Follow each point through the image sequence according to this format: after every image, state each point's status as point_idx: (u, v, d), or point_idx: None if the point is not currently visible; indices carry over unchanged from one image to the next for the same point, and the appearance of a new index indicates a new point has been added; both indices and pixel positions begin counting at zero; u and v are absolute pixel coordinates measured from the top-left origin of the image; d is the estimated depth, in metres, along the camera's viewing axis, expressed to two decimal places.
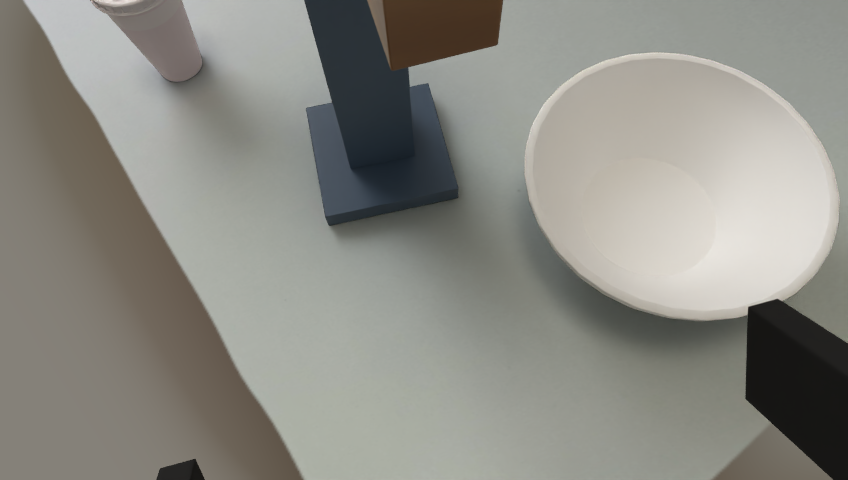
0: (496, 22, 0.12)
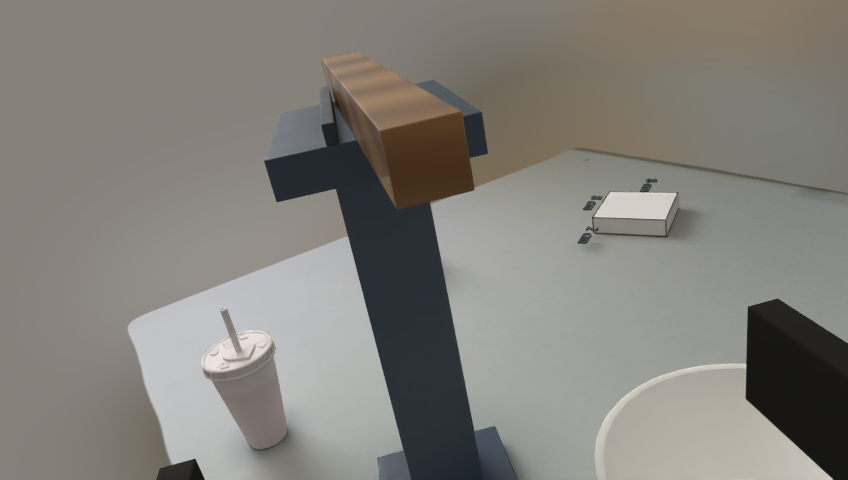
0: (468, 168, 0.17)
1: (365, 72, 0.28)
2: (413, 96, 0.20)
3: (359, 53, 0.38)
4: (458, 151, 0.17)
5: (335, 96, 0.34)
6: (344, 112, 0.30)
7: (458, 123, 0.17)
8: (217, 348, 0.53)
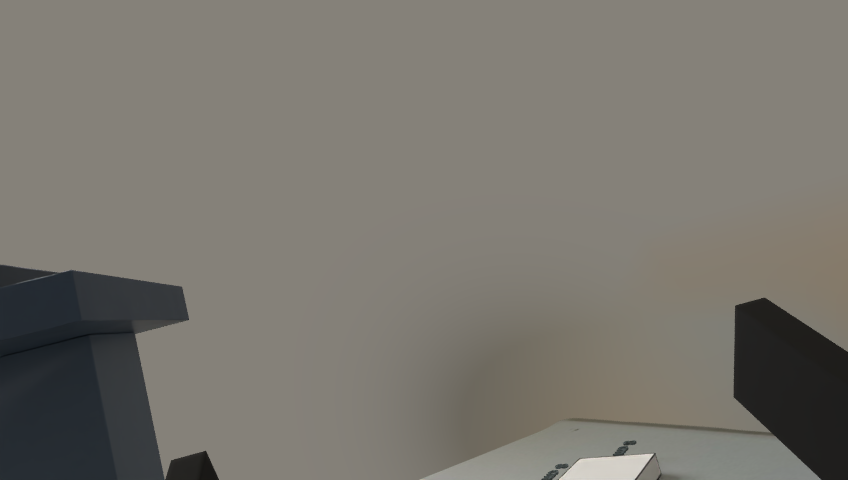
0: None
1: None
2: None
3: None
4: None
5: None
6: None
7: None
8: None
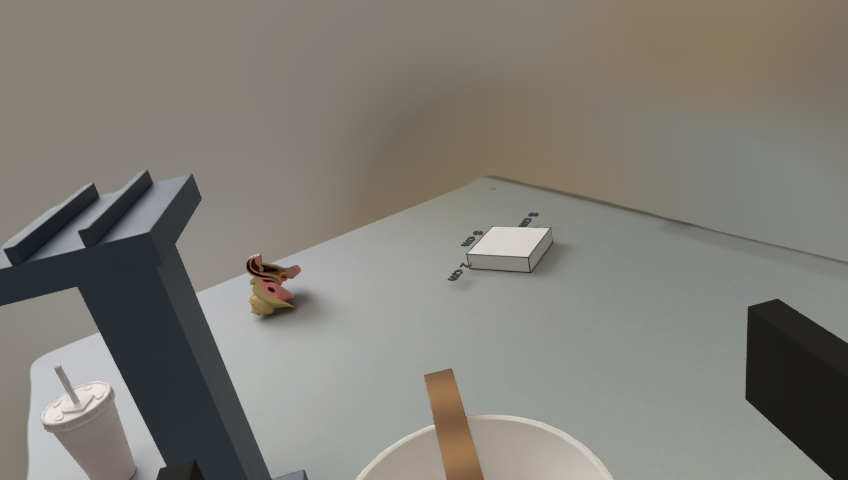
0: None
1: None
2: None
3: (456, 387, 0.48)
4: None
5: None
6: None
7: None
8: (61, 399, 0.58)
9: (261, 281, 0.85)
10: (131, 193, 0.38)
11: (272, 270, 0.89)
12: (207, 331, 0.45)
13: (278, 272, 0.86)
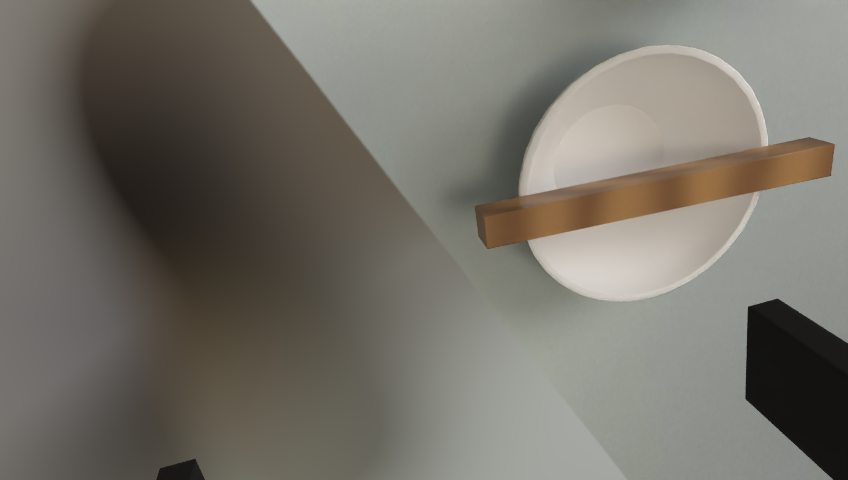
0: (480, 238, 0.42)
1: (666, 197, 0.42)
2: (540, 229, 0.41)
3: (798, 182, 0.43)
4: (482, 239, 0.42)
5: (728, 157, 0.43)
6: (663, 170, 0.43)
7: (486, 245, 0.41)
8: None
9: None
10: None
11: None
12: None
13: None
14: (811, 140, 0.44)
